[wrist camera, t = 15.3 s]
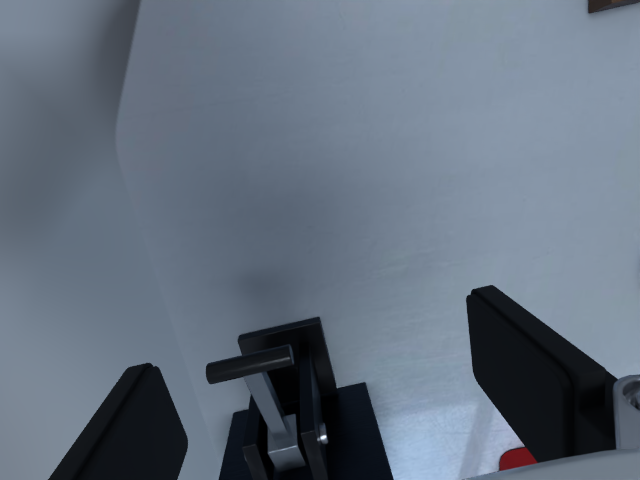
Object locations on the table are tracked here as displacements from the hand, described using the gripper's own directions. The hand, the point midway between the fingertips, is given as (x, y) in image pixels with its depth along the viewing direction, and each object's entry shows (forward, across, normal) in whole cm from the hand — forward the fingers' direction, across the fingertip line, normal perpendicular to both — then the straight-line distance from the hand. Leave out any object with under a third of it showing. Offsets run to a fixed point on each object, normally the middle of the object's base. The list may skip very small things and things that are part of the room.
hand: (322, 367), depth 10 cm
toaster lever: (+12, +5, +10) cm, 16 cm away
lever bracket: (+22, +5, +14) cm, 26 cm away
